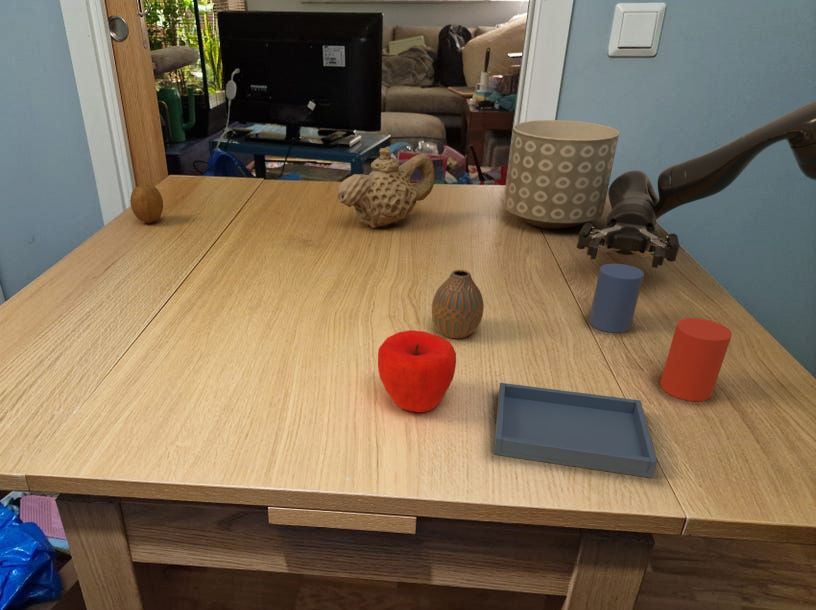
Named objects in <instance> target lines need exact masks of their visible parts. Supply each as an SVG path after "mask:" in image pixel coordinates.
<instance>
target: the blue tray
mask: <svg viewBox="0 0 816 610" xmlns="http://www.w3.org/2000/svg"><path fill="white" fill-rule="evenodd" d="M496 405H497V406H496V417H495V418H496V419H495V431H494V434H495V435H494V446H493V455H495V456H502V457H509V458H516V459H522V460H530V461H534V462H542V463H550V464H555V465H562V466H568V467H569V466H570V467H575V468H576V467H577V468H583V469H589V470H595V471H603V472H610V473H615V474H622V475H628V476H634V477H642V478H647V479H653V478H654V475H655V471H656V468H657V464H658V460H657V456H656V453H655V448H654V445H653V441H652V437H651V434H650V429H649V427H648V422H647V418H646V416H645V415H646V414H645V411H644V408H643V403H642V401H641V400H640V399H632V398H624V397H617V396H608V395H602V394H594V393H593V394H592V393H584V392H577V391H570V390H569V391H568V390H562V389H561V390H560V389H555V388H547V387H538V386H529V385H522V384H516V383H514V384H513V383H507V382H500V383H499V387H498V394H497V404H496Z"/></svg>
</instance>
